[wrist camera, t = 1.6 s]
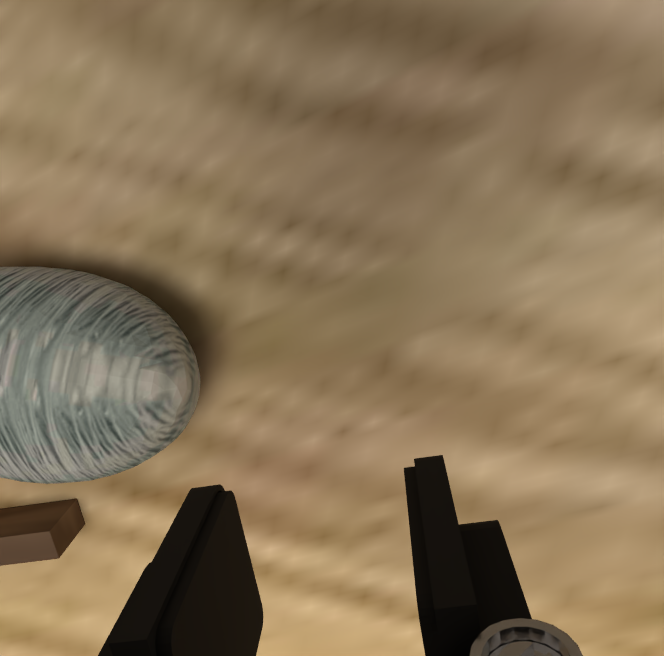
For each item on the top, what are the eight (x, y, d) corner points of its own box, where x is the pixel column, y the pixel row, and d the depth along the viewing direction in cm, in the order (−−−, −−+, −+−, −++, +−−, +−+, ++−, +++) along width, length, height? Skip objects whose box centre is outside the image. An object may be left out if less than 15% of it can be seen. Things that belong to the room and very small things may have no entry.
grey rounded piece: (-106, 455, 30) (-228, 471, 21) (-59, 267, 32) (-151, 203, 22) (178, 486, 34) (186, 512, 24) (208, 314, 35) (225, 275, 26)
